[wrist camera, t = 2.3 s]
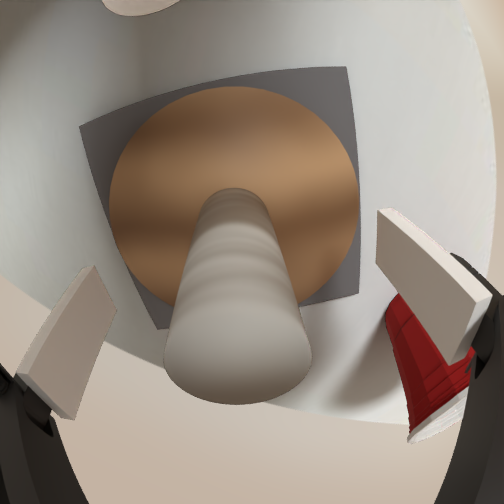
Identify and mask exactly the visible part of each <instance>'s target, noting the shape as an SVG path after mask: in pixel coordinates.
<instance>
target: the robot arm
mask: <svg viewBox="0 0 504 504" xmlns="http://www.w3.org/2000/svg"><path fill="white" fill-rule="evenodd" d="M376 264H377V265H378V267H379V268H380V269H381V270H382V272H383V273H384V274H385V275H386V277H387V278H388V279H389V281H390V282H391V283H392V284H393V286H394V287H395V288H396V290H397V291H398V292H399V294H400V295H401V296H402V298H403V299H404V300H405V302H406V303H407V305H408V306H409V307H410V309H411V310H412V312H413V313H414V314H415V316H416V317H417V319H418V320H419V321H420V323H421V324H422V326H423V327H424V329H425V330H426V332H427V333H428V335H429V336H430V337H431V339H432V340H433V342H434V344H435V345H436V347H437V348H438V350H439V351H440V353H441V354H442V356H443V357H444V359H445V361H446V362H447V364H448V365H449V366H450V365H452V364H454V363H456V362H458V361H460V360H462V359H464V358H465V356H466V355H467V353H468V351H469V349H470V347H472V348H473V349H474V351H475V353H474V355H473V357H472V359H471V361H470V363H469V364H468V366H467V368H466V370H465V373H468V371H469V370H470V368H471V374H470V382H469V388H468V394H467V400H466V405H465V410H464V415H463V419H462V423H461V428H460V432H459V435H458V439H457V443H456V446H455V449H454V453H453V456H452V459H451V462H450V465H449V468H448V471H447V473H446V476H445V479H444V481H443V484H442V486H441V489H440V491H439V493H438V496H437V498H436V500H435V503H434V504H504V295H503V296H502V295H501V294H500V293H499V292H498V291H497V290H496V289H495V288H494V287H493V286H492V285H491V284H490V283H489V282H488V281H487V280H486V279H485V278H484V277H483V276H482V275H481V274H478V271H476V270H475V269H474V268H472V266H471V265H470V264H469V263H468V262H467V261H465V260H464V259H463V258H461V257H459V256H457V255H455V254H453V253H450V254H449V253H448V252H447V251H446V250H445V249H443V248H442V247H441V246H440V245H439V244H438V243H436V242H435V241H434V240H433V239H432V238H430V237H429V236H428V235H427V234H426V233H424V232H423V231H422V230H421V229H419V228H418V227H417V226H416V225H414V224H413V223H412V222H410V221H409V220H408V219H407V218H405V217H404V216H403V215H401V214H400V213H399V212H397V211H396V210H395V209H393V208H392V207H391V208H385V209H379V210H377V247H376ZM116 312H117V309H116V307H115V305H114V304H113V302H112V300H111V298H110V296H109V294H108V292H107V290H106V288H105V286H104V285H103V283H102V281H101V278H100V276H99V274H98V272H97V270H96V268H95V266H89V267H85V268H82V269H81V271H80V272H79V273H78V275H77V276H76V277H75V279H74V280H73V281H72V283H71V284H70V286H69V287H68V288H67V290H66V291H65V293H64V294H63V295H62V297H61V298H60V300H59V301H58V303H57V304H56V306H55V307H54V309H53V310H52V312H51V313H50V315H49V316H48V318H47V319H46V321H45V322H44V324H43V326H42V327H41V329H40V331H39V332H38V334H37V335H36V337H35V339H34V340H33V342H32V344H31V346H30V347H29V349H28V351H27V352H26V354H25V356H24V358H23V360H22V362H21V363H20V365H19V367H18V369H17V371H16V374H15V376H14V378H13V377H12V376H11V375H10V374H9V373H8V372H7V371H6V369H5V368H4V367H3V366H2V365H1V364H0V504H89V503H88V501H87V499H86V497H85V495H84V493H83V491H82V489H81V487H80V485H79V483H78V480H77V478H76V476H75V474H74V471H73V469H72V467H71V464H70V462H69V459H68V457H67V454H66V452H65V449H64V446H63V444H62V440H61V437H60V435H59V431H58V428H57V425H56V422H55V420H54V418H53V417H52V416H51V415H50V413H51V410H53V411H54V412H55V413H56V414H57V415H59V416H60V417H61V418H64V419H70V420H75V417H76V414H77V411H78V408H79V405H80V402H81V399H82V396H83V393H84V390H85V387H86V385H87V382H88V379H89V377H90V374H91V371H92V368H93V366H94V363H95V361H96V358H97V356H98V353H99V351H100V348H101V346H102V344H103V341H104V339H105V337H106V334H107V332H108V330H109V327H110V325H111V323H112V321H113V318H114V316H115V314H116Z"/></svg>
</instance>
